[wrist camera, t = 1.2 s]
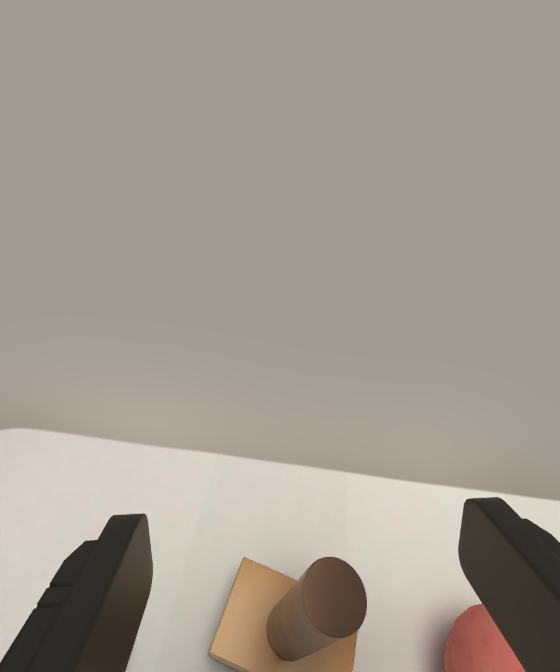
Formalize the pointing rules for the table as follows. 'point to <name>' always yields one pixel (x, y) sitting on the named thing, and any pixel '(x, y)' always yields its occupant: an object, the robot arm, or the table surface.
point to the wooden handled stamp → (291, 619)
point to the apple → (478, 645)
